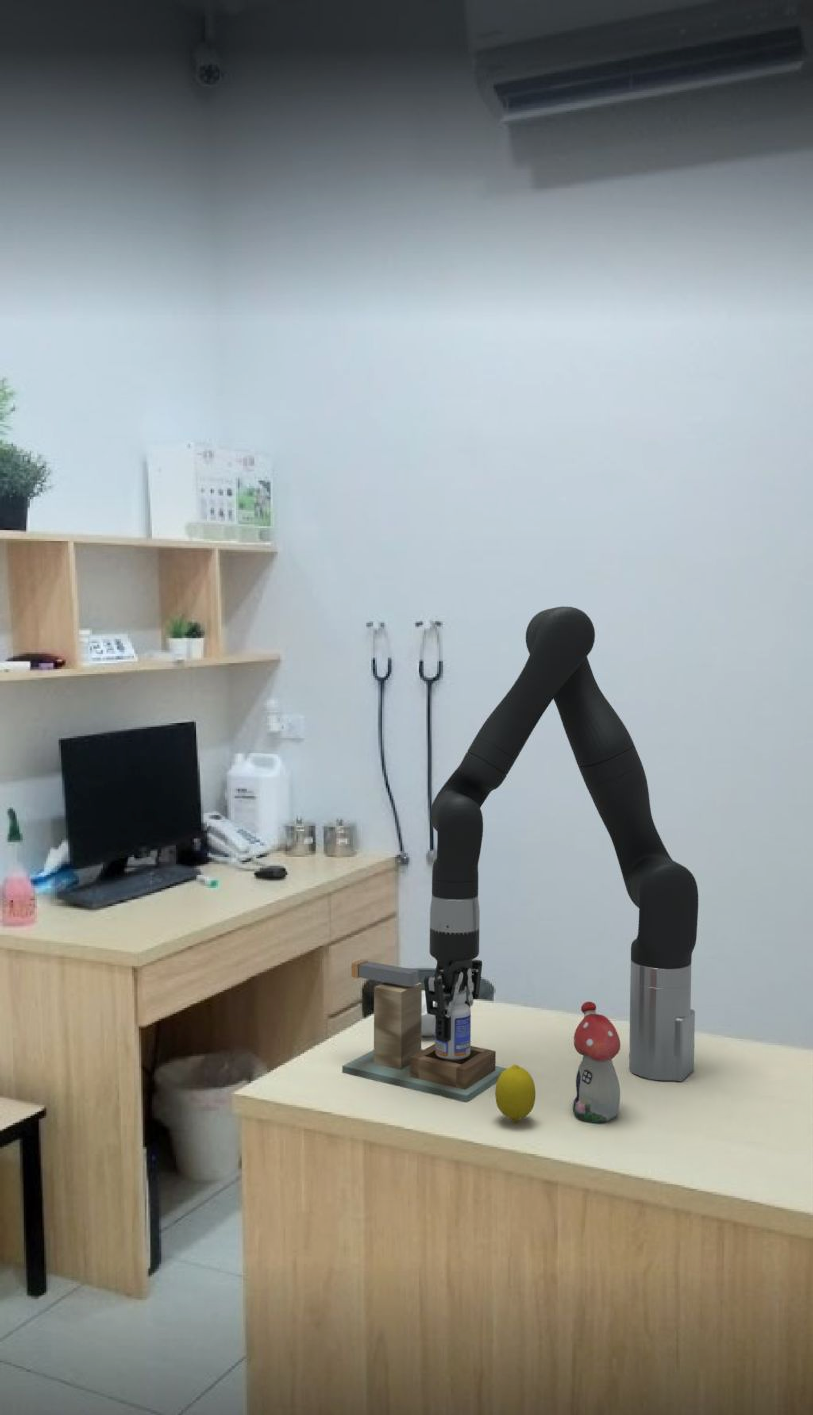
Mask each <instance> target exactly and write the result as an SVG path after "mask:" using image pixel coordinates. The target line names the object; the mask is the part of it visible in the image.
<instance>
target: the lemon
mask: <svg viewBox="0 0 813 1415" xmlns="http://www.w3.org/2000/svg"><path fill="white" fill-rule="evenodd" d="M506 1068H507V1069H505V1070H504V1071H503V1072H502V1073H501V1074H500V1076H499V1078H498V1080H497V1082H496V1083H495V1092H494V1094H495V1095H494V1096H495V1103H496V1105H497V1109H498V1110H499V1112H500V1113H501V1114H502V1115H503V1116H505V1117H506V1118H508V1119H510V1120H511V1121H512V1122H513V1123H518V1121H520V1120H522V1119H524V1118H525V1117H527V1116H528V1115H529V1114H530V1113H531V1112H532V1110H533V1108H534V1105H535V1102H536V1086H535V1082H534V1080H533V1077H532V1075H531V1073H529V1072H528V1070H526V1069H525V1068H523V1067H520V1066H519V1065H518V1064H513V1065H512V1066H509V1067H506Z"/></svg>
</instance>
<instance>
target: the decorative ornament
mask: <svg viewBox="0 0 813 1415" xmlns="http://www.w3.org/2000/svg"><path fill="white" fill-rule="evenodd" d="M596 1010H597V1004H595V1002H592V1001H585V1002H584V1003H582V1005H581V1007H580V1011H581V1012H582V1014H583V1015H584V1017H583V1018H582V1020H581V1021H580V1022H579V1023H578V1025H577V1027H576V1029H575V1031H574V1036H573V1046H574V1049H575V1050H576V1052H577V1053H578V1054H579V1055H581V1056H582V1059H581V1061H580V1064H579V1065H578V1068H577V1069H578V1070H577V1072H576V1078H575V1088H576V1097H575V1098H574V1100H573V1105H572V1111H573V1114H574V1115H575V1117H576V1118H578V1120H579V1119H580V1120H581V1121H584V1122H587V1123H595V1124H601V1123H602V1124H603V1123H607V1122H609V1121H610V1120H612V1119H613V1118H615V1117H616V1116H617V1113H618V1112H619V1108H620V1104H621V1103H620V1102H621V1087H620V1081H619V1077H618V1075H617V1072H616V1068H615V1066H614V1063H613V1059H614V1058H615V1057H616V1056H617V1055H618V1054H619V1052H620V1050H621V1040H620V1036H619V1034H618V1032H617V1029H616V1027H615V1026H614V1024H613V1023H612V1021H611V1020H610V1019H609V1018H608V1017H607V1016H605V1015H603V1014H599V1013H597V1012H596Z"/></svg>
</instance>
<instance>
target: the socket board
mask: <svg viewBox="0 0 813 1415" xmlns="http://www.w3.org/2000/svg"><path fill="white" fill-rule="evenodd" d="M422 988H423V983H422V982H419V983H418V984H416V985H413V986H411V987H408V986H403V985H397V984H392V983H386V982H382V983H381V984H378V985H375V986H374V988H373V1049H372V1050H370V1051H368V1052H367V1053H365V1054H363V1055H361V1056H359V1057H357V1058H355V1059H353V1060H350V1061H349V1062H347V1063H345V1064H344V1065H342V1071H341V1072H342V1073H344V1074H349V1075H353V1076H356V1077H362V1078H364V1079H369V1080H373V1081H376V1082H382V1083H385V1084H390V1085H394V1086H398V1087H402V1088H406V1089H411V1090H414V1091H420V1092H423V1093H426V1094H431V1095H436V1096H439V1097H444V1098H448V1099H452V1100H456V1101H460V1102H464V1103H468V1102H469V1101H471V1100H472V1099H475V1097H477V1096H478V1095H480V1094H482V1093H483V1092H484V1091H486V1090H487V1089H489V1088H490V1087H492V1086H494V1085H496V1084H497V1080H498V1078H499V1076H500V1074H501V1073H502V1072H503V1071H504V1070H505V1069H507V1068H508V1067H502V1066H497V1065H496V1064H497V1063H496V1062H497V1061H496V1058H497V1057H496V1056H497V1055H496V1054H497V1053H496V1050H493V1049H488V1048H483V1047H479V1046H474V1045H471V1051H470V1055H469V1056H468V1057H466V1058H464V1059H459V1060H450V1059H444V1058H440V1057H438V1056H437V1055H436V1053H435V1043H434V1044H431V1045H430V1046H428V1047H426V1048H424V1049H422V1035H421V1024H422V992H423V990H422Z"/></svg>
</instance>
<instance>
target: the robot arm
mask: <svg viewBox="0 0 813 1415" xmlns="http://www.w3.org/2000/svg"><path fill="white" fill-rule="evenodd" d="M595 638H596V631H595V627H594V623H593V622H592V620H591V618H590V617H589V616H588V614H587V613H585V611H583V610H581V609H579V608H578V607H573V606H557V607H553V608H552V607H550V608H547V609H544V610H541V611H540V612H537V613H536V614H535V615H534V616H533V617H532V618H531V619H530V621H529V623H528V625H527V628H526V631H525V645H526V648H527V651H528V654H529V656H528V658H527V661H526V662H525V664H524V666H523V669H522V670H521V672H520V674H519V675H518V677H517V679H516V680H515V681H514V683H513V685H512V687H511V688H509V690H508V691H507V693H506V694H505V695H504V697H503V698H502V699H501V701H500V702H499V703H498V705H497V706H496V707H494V709H493V711H492V712H491V713H490V714H489V716H488V717H487V719H486V720H485V722H484V723H483V724H482V725H481V727H480V729H479V731H478V732H477V734H476V736H475V737H474V739H473V741H472V742H471V744H470V746H469V747H468V750H467V751H466V752H465V755H464V756H463V758H462V761H461V763H460V764H459V765H458V767H457V768H456V769H455V770H454V772H452V774H451V775H450V777H448V779H447V780H446V781H445V783H444V784H443V786H442V787H441V789H440V790H439V791H438V793H437V794H436V796H435V797H434V799H433V802H432V804H431V806H430V811H429V819H430V823H431V826H432V827H433V829H434V830H435V831H436V832H437V835H436V836H437V840H436V859H435V860H434V861H433V864H432V869H431V870H432V872H431V874H432V875H431V901H430V907H429V955H430V956H431V957H432V958H434V959H435V960H436V967H435V970H434V974H433V975H432V976H429V975H426V976H425V977H424V979H423V985H424V991H425V996H426V1007H427V1013H428V1014H431V1015H435V1017H436V1039H437V1040H438V1041H442V1042H448V1041H450V1040H451V1017H450V1016H451V1011H452V1006H453V1003H455V1002H456V1001H457V997H458V992H459V991H463V990H465V991H466V1001H465V1004H467V1005H468V1006H469V1007H470V1008H471V1007H473V1005H474V1000H478V999H479V998H480V997H479V996H480V991H481V990H480V988H481V979H482V972H483V971H482V970H483V969H482V968H483V961H482V960H481V959H480V960H479V959H476V958H477V957H479V954H480V924H481V922H480V920H481V919H480V911H481V910H480V903H479V862H480V861H479V860H480V857H481V850H482V843H483V836H484V834H483V833H484V817H483V813H482V809H481V807H482V806H483V805H484V803H485V801H486V800H487V798H488V797H489V795H490V794H491V793H492V791H494V790H497V789H498V788H500V786H501V785H502V784H503V782H504V781H505V780H506V777H507V776H508V774H509V772H510V771H511V769H512V767H513V766H514V764H515V762H516V760H517V759H518V757H519V755H520V753H521V752H522V750H523V748H524V747H525V745H526V743H527V741H528V740H529V738H530V736H531V735H532V733H533V731H534V729H535V728H536V726H537V724H538V722H539V721H540V720H541V719H542V716H543V715H544V713H545V712H546V710H547V708H548V707H549V705H550V704H551V703H552V701H554V703H555V706H556V709H557V711H558V713H559V714H558V715H559V717H560V719H561V720H560V721H561V724H562V726H563V729H564V732H565V735H566V737H567V740H568V743H569V746H570V748H571V751H572V753H573V756H574V760H575V763H576V765H577V767H578V769H579V772H580V774H581V777H582V779H583V781H584V784H585V786H586V789H587V790H588V793H589V795H590V798H591V800H592V801H593V804H594V806H595V808H596V811H597V813H598V815H599V817H600V819H601V821H602V822H603V825H604V827H605V828H606V831H607V832H608V835H609V838H610V839H611V843H612V845H613V848H614V851H615V855H616V857H617V861H618V865H619V868H620V871H621V874H622V879H623V882H624V886H625V889H626V892H627V895H628V896H629V899H630V900H631V901H632V903H633V904H634V905H635V906H636V908H638V930H637V936H636V938H635V939H634V940H633V941H632V942H631V944H630V976H629V977H630V978H629V980H630V982H629V984H630V985H629V986H630V990H629V992H630V994H629V1044H628V1045H629V1047H628V1048H629V1052H628V1060H629V1062H628V1068H629V1070H630V1071H631V1073H633V1074H635V1075H637V1076H638V1077H641V1078H645V1079H649V1080H656V1081H676V1082H683V1081H684V1080H685V1079H686V1078H687V1077H688V1076H689V1075H690V1074H691V1073H692V1072H693V1071H695V1070H694V1069H695V1034H696V1033H695V1031H696V1030H695V1029H696V1028H695V1027H696V1026H695V1025H696V1024H695V1022H696V1017H695V1016H696V1011H695V1010H694V1009H691V1007H692V1006H691V1005H692V1004H691V1001H692V997H691V995H692V955H693V951H694V949H695V947H696V943H697V938H698V937H697V935H698V934H697V933H698V921H699V920H698V918H699V917H698V916H699V889H698V883H697V881H696V878H695V875H694V874H693V873H692V872H691V870H689V869H688V868H687V867H686V866H684V865H683V864H681V863H679V862H676V861H675V860H673V859H672V856H670V854H669V852H668V850H667V848H666V846H665V845H664V842H663V841H662V837H661V836H660V834H659V832H658V830H657V828H656V825H655V823H654V819H653V815H652V809H651V800H650V792H649V785H648V780H647V775H646V772H645V769H644V766H643V765H644V764H643V762H642V760H641V758H640V755H639V753H638V750H637V748H636V745H635V744H634V741H633V738H632V737H631V734H630V732H629V731H628V728H627V726H626V725H625V724H624V722H623V720H622V718H620V716H619V714H618V713H617V712H616V711H615V709H614V708H613V706H612V705H611V704H610V702H609V701H608V699H607V697H605V695H604V693H603V692H602V690H601V689H600V687H599V685H598V683H597V681H596V678H595V677H594V673H593V670H592V667H591V665H590V662H589V659H588V656H589V654H590V653H591V652H592V650H593V648H594V644H595V642H596V641H595ZM443 992H444V993H449V994H451V995H449V996H447V995H444V994H443ZM433 1001H434V1002H435V1005H434V1006H433ZM444 1001H447V1003H446V1008H445V1005H444Z"/></svg>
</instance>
